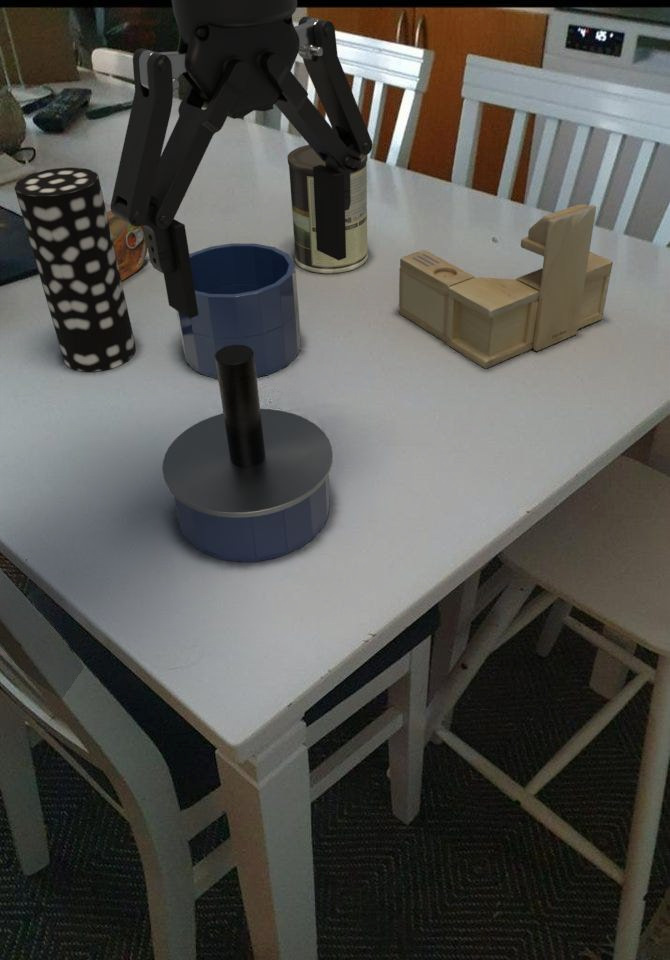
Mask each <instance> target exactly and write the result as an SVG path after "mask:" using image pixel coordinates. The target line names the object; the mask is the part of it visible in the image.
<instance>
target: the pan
mask: <svg viewBox="0 0 670 960" xmlns="http://www.w3.org/2000/svg"><path fill="white" fill-rule="evenodd" d="M173 499H174V504H175V509H176V513H177V518H178V521H179V525H180V526H179V527H180V529H181V533H182V534H183V535H184V537H185V538H186V539H187V540H188V542H189V543H190V544H191V545H192V546H193V547H195V548H196V549H197V550H199V551H201V552H203V553H204V554H206V555H209V556H211V557H214V558H216V559H219V560H220V559H221V560H225V561H230V562H240V563H244V562H245V563H248V562H249V563H252V562H263V561H267V560H272V559H277V558H280V557H283V556H286V555H288V554H290V553H293V552H294V551H297V550H299V549H300V548H302V547H303V546H305V545H306V544H308V543H309V542H310V541H311V540H313V539H314V538H315V537H316V536H317V535H318V534H319V532H321V530H322V529H323V527H324V525H325V524H326V521H327V520H328V516H329V512H330V501H331V490H330V473H329V474H328V477H327V478H326V480H325V481H324V483H323V484H322V485H321V486H320V487H319V488H318V489H317V490H316V491H315V492H314V493H313V494H311V495H310V496H309V497H307V498H306V499H304V500H303V501H301V502H299V503H297V504H295V505H293V506H291V507H289V508H286V509H284V510H281V511H278V512H274V513H271V514H267V515H261V516H255V517H245V518H231V517H220V516H214V515H209V514H206V513H202V512H199V511H197V510H194V509H192V508H190V507H188V506H186V505H185V504H183V503H182V502H180V501H179V500H178V499H176V498H175V497H174V496H173Z"/></svg>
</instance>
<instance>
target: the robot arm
mask: <svg viewBox="0 0 670 960" xmlns="http://www.w3.org/2000/svg"><path fill="white" fill-rule="evenodd" d="M171 5H172V12H173V16H174V19H175V21H176V25H177V28H178V31H179V37H178V44H177V49H176V51H162V52H161V51H160V52H156V51H153V50H149V49H146V48H142V47H140V48H138V49H136V50H135V51H134V52H133V55H132V69H133V81H134V93H133V99H132V103H131V109H130V113H129V118H128V121H127V127H126V131H125V135H124V140H123V146H122V150H121V155H120V160H119V164H118V169H117V173H116V178H115V182H114V187H113V192H112V197H111V201H110V211H111V212H112V213H113V214H114V215H115V216H117V217H119V218H120V219H122V220H124V221H126V222H127V223H129V224H131V225H133V226H135V227H139V226H142V225H143V227H144V231H145V237H146V242H147V247H148V249H147V254H148V257H149V263H150V264H151V266H152V267H153V269H155V270H156V271H158V272H160V273H161V274H163V278H164V283H165V290H166V296H167V301H168V305H169V307H171V308H173V309H174V310H175V311H176V310H177V311H178V312H180V313H181V314H183V315H184V316H186V317H188V318H189V319H190V318H193V317H195V316H198V308H197V302H196V295H195V289H194V282H193V276H192V269H191V263H190V256H189V254H190V251H189V245H188V244H189V243H188V237H187V230H186V225H185V224H184V223H182V222H181V221H178V220H176V219H175V217H176V215H177V213H178V211H179V209H180V207H181V204H182V202H183V201H184V198H185V196H186V194H187V191H188V189H189V187H190V186H191V184H192V181H193V179H194V177H195V175H196V173H197V170H198V168H199V166H200V165H201V162H202V160H203V158H204V156H205V154H206V152H207V150H208V147H209V145H210V143H211V142H212V139H213V137H214V135H215V134H216V133H218V132H220V131H221V130H222V128H223V127H224V125H225V122H226V120H227V119H228V118H231V119H233V120H236V119H241V118H244V117H246V116H247V115H249V114H250V113H252V112H267V111H271V110H274V106H276V108H277V109H278V110H279V111H280V112H281V113H282V114H283V116H284V117H285V119H287V121H288V122H289V123H290V124H291V125H292V126H293V128H294V129H295V130H296V131H297V132H298V134H299V135H300V136H301V137H302V138H303V139H304V141H305V142H306V143H307V145H310V146H311V147H312V149H313V150H314V151H315V152H316V153H317V155H318V156H319V157H320V158H321V159H322V160H323V161H324V162H325V163H326V166H323V165H318V166H315V167H313V179H314V200H315V221H316V242H317V250H318V251H320V252H322V253H324V254H326V255H328V256H330V257H332V258H334V259H337V260H342V259H344V258H346V229H345V211H346V210H349V208H350V204H351V195H350V194H351V190H350V189H351V186H350V172H353V173H355V172H357V171H358V170H359V169H360V167H361V158H360V157H359V156H360V155H368V156H369V154H370V153H371V152H372V149H373V145H374V144H373V140H372V138H371V136H370V133H369V130H368V128H367V125H366V122H365V121H364V118H363V116H362V112H361V110H360V108H359V106H358V103H357V101H356V98H355V95H354V93H353V90H352V87H351V86H350V83H349V80H348V78H347V76H346V73H345V71H344V69H343V66H342V63H341V61H340V59H339V55H338V46H337V38H336V37H337V36H336V28H335V25H334V23H333V22H332V21H330V20H327V19H326V20H325V19H321V18H317V17H316V18H315V17H312V16H308V15H307V16H302V17H300V19H299V21H298V23H297V25H294V21H293V15H294V14H295V12H296V11H297V7H298V0H171ZM298 55H299V57H301V58H302V62H303V64H304V66H305V69H306V72H307V74H308V76H309V79H310V81H311V83H312V85H313V88H314V90H315V92H316V95H317V96H318V99H319V101H320V104H321V105H322V108H323V110H324V112H325V115H326V117H327V119H328V121H329V122H328V121H327V120H326V118H325V117H324V116H323V115H322V114H321V111H319V110H318V108H317V107H316V106H315V105H314V103H313V102H312V101H311V100H310V99H309V97H308V96H309V93H308V91H307V90H306V89H305V87H304V86H303V85H302V84H301V83H300V81H299V80H298V79H297V77H296V76H295V75H294V73H293V72H292V69H293V67H294V64H295V62H296V59H297V57H298ZM181 76H182V77H183V78H184V80H185V81H186V82H187V83H188V86H187V88H186V90H185V93H184V95H183V97H182V99H181V101H180V104H179V106H178V108H177V109H178V110H177V112H178V118H177V121H176V123H175V125H174V127H173V129H172V131H171V134H170V136H169V137H168V140H167V142H166V144H165V139H166V135H167V130H168V127H169V123H170V118H171V113H172V108H173V101H174V100H173V99H174V92H175V91H176V90H178V89H179V88H180V85H181V84H180V77H181ZM204 104H205V105H206V108H204V109H203V106H204ZM164 145H165V146H164Z"/></svg>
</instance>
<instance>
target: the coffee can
mask: <svg viewBox="0 0 670 960" xmlns="http://www.w3.org/2000/svg"><path fill="white" fill-rule="evenodd" d="M368 156H369V154H368V155H360V156H359V157H360V158H361V167H360V169H359V170H358V171H357V172H355V173H353V172H350V186H351V189H350V190H351V194H350V195H351V204H350V208H349V210H346V211H345V229H346V258H344V259H342V260H337V259H334V258H332V257H330V256H328V255H326V254H324V253H322V252H320V251H318V250H317V242H316V221H315V200H314V179H313V167H315V166H318V165H323V166H326V163H325V162H324V161H323V160H322V159H321V158H320V157H319V156H318V155H317V153H316V152H315V151H314V150H313V149H312V147H311V146H310V145H309V144H305V145H302V146H299V147H297V148H294V149H293V150H291V151H290V152H289V153H288V155H287V156H286V157H287V164H288V172H289V185H290V186H289V187H290V199H291V200H290V201H291V213H292V227H293V229H292V230H293V242H294V262H295V264H296V265H297V266H299V268H301V269H303V270H305V271H308V272H311V273H317V274H325V275H326V274H327V275H328V274H341V273H345V272H350V271H354V270H356V269H359V267H361V266H363V265H364V264H365V263H366V262H367V260H368V258H369V254H368V177H367V176H368V175H367V174H368V172H367V163H368V159H369V158H368Z"/></svg>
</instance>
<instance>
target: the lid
mask: <svg viewBox="0 0 670 960" xmlns="http://www.w3.org/2000/svg"><path fill="white" fill-rule="evenodd" d="M215 361H216V367H217V374H218V378H217V379H218V387H219V393H220V400H221V407H222V413H219V414H216V415H213V416H209V417H207V418H205V419H202V420H201V421H198V422H197V423H195V424H193V425H192V426H191V425H190V427H188V428H186V429H185V430H184V431H183V432H181V433H180V434H179V435H178V436H177V437H176V438H175V439H174V440H173V441H172V442H171V444H170V445H169V446H168V448H167V450H166V451H165V453H164V457H163V461H162V468H161V469H162V475H163V480H164V483H165V485H166V487H167V489H168V491H169V492H170V493H171V494H172V496H173V498H174V497H175V498H176V499H178V500H179V501H180V502H182V503H183V504H185V505H186V506H188V507H190V508H192V509H194V510H197V511H199V512H202V513H206V514H209V515H214V516H220V517H231V518H245V517H255V516H261V515H267V514H271V513H274V512H278V511H281V510H284V509H286V508H289V507H291V506H293V505H295V504H297V503H299V502H301V501H303V500H304V499H306V498H307V497H309V496H310V495H311V494H313V493H314V492H315V491H316V490H317V489H318V488H319V487H320V486H321V485H322V484H323V483H324V481H325V480H326V478H327V477H328V474H329V475H330V472H331V470H332V466H333V456H334V455H333V454H334V453H333V447H332V445H331V441H330V439H329V438H328V436H327V435H326V433H325V432H324V431H323V430H322V429H321V428H320V427H319V426H318V425H317V424H316V423H314V422H312V421H311V420H309V419H307V418H306V417H303V416H301V415H298V414H295V413H292V412H288V411H284V410H279V409H271V408H261V404H260V395H259V385H258V377H257V376H256V367H255V359H254V352H253V350H252V349H251V348H250V347H248V346H245V345H229V346H226V347H223V348H221V349H220V350H218V351H217V352H216V354H215Z"/></svg>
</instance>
